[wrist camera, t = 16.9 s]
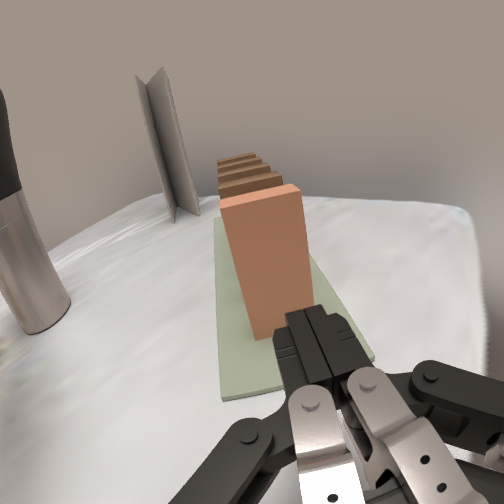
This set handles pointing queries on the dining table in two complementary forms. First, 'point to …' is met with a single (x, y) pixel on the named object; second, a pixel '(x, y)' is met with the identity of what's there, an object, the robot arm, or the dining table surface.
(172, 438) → the dining table surface
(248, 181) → the tile
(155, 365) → the dining table surface
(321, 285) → the mat
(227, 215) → the tile
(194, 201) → the brochure
